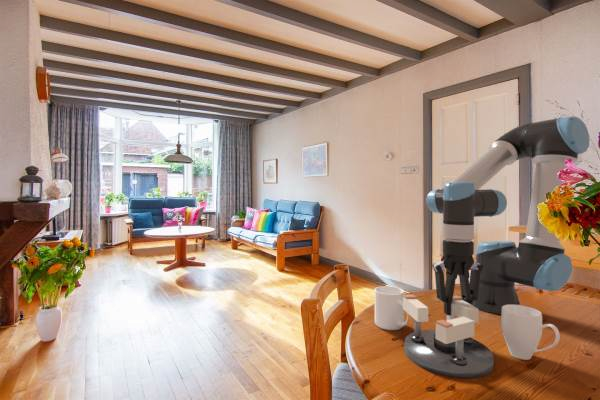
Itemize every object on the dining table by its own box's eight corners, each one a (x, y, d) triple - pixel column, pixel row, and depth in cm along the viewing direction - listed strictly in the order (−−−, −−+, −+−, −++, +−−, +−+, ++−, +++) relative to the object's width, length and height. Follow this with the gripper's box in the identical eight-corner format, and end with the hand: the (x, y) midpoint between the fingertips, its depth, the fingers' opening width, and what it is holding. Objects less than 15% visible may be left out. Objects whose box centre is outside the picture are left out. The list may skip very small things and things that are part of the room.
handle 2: (478, 342, 81) (478, 307, 81) (467, 342, 81) (468, 307, 80) (457, 327, 90) (457, 295, 90) (447, 327, 90) (448, 295, 89)
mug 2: (494, 352, 82) (495, 308, 82) (510, 344, 86) (511, 302, 86) (550, 375, 72) (551, 324, 72) (565, 365, 76) (567, 316, 76)
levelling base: (461, 335, 92) (461, 316, 92) (514, 375, 72) (514, 351, 72) (392, 338, 90) (392, 319, 90) (427, 380, 70) (427, 355, 70)
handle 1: (428, 340, 82) (428, 305, 82) (417, 341, 82) (417, 306, 81) (412, 325, 91) (412, 294, 91) (402, 326, 91) (403, 294, 90)
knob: (463, 351, 76) (463, 314, 76) (473, 357, 74) (474, 318, 73) (435, 360, 72) (435, 320, 72) (445, 366, 70) (446, 325, 70)
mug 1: (396, 338, 90) (397, 299, 90) (368, 322, 101) (368, 288, 101) (418, 331, 94) (419, 295, 94) (389, 317, 105) (389, 284, 105)
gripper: (477, 237, 92) (475, 319, 92) (422, 238, 90) (422, 321, 91) (495, 241, 84) (493, 331, 85) (436, 242, 83) (435, 333, 83)
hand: (456, 326), depth 88 cm, fingers closed on handle 2, 3 cm apart
